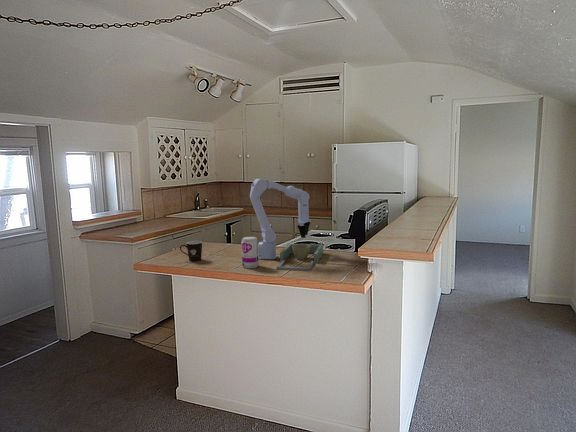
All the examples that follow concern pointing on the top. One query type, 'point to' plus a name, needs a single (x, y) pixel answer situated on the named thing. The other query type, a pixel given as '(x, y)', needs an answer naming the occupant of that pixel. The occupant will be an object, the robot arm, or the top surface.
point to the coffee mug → (193, 250)
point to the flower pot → (301, 251)
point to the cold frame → (314, 249)
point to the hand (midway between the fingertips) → (304, 236)
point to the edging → (294, 267)
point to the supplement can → (249, 252)
